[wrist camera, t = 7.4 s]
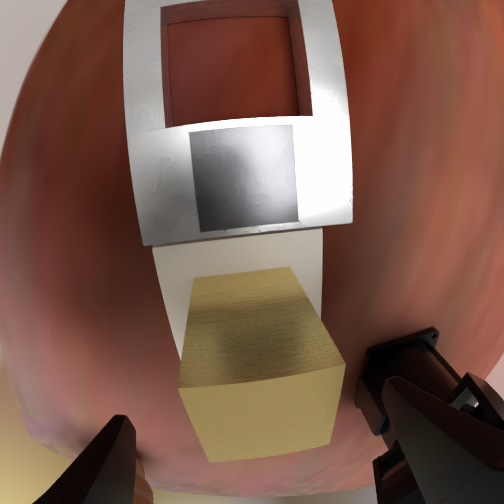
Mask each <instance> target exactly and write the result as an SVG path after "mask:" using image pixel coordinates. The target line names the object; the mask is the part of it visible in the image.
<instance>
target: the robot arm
mask: <svg viewBox="0 0 504 504" xmlns="http://www.w3.org/2000/svg"><path fill="white" fill-rule="evenodd" d="M438 336H439V331H438V330H437V329H436V328H432V329H429V330H427V331H424V332H421V333H418V334H414V335H411V336H408V337H405V338H402V339H399V340H395V341H392V342H388V343H385V344H381V345H378V346H374V347H372V348H370V349H369V350H368V351H367V353H366V357H365V362H364V366H363V371H362V375H361V376H360V379H359V383H358V388H357V392H356V396H355V399H356V400H355V406H356V408H360V409H361V411H362V413H363V415H364V417H365V419H366V421H367V423H368V425H369V427H370V429H371V431H372V433H373V434H374V435H375V436H379V435H381V436H382V438H383V440H384V442H385V444H386V446H387V448H388V451H387V452H386V453H384V454H383V455H382V456H379V457H377V458H376V459H374V460H373V461H372V463H373V470H374V478H375V485H376V493H377V502H378V504H504V401H503V399H502V398H501V397H500V395H499V394H498V393H497V392H496V391H495V390H494V389H493V388H492V387H491V386H490V385H489V384H488V383H487V382H486V381H485V380H483V379H481V378H479V377H477V376H475V375H473V374H471V373H469V372H467V373H466V374H465V375H464V376H463V378H461V377H460V376H459V375H458V374H457V373H456V372H455V370H454V369H453V368H452V367H451V366H450V365H449V364H448V363H447V361H446V360H445V359H444V358H443V357H442V356H441V355H440V354H439V353H438V352H437V351H436V349H435V345H436V342H437V339H438ZM477 401H478V403H479V404H478V406H477V407H476V408H475V407H474V405H475V404H476V403H477ZM135 476H136V430H135V428H134V426H133V424H132V423H131V421H130V420H129V418H128V417H127V416H126V415H118V414H117V415H114V416H113V417H112V418H111V420H110V421H109V422H108V423H107V424H106V425H105V426H104V428H103V429H102V430H101V431H100V432H99V433H98V434H97V435H96V437H95V438H94V439H93V440H92V441H91V442H90V443H89V444H88V446H87V447H86V448H85V449H84V450H83V451H82V452H81V454H80V455H79V456H78V457H77V458H76V459H75V460H74V461H73V463H72V464H71V465H70V466H69V467H68V468H67V469H66V470H65V472H64V473H63V474H62V475H61V477H60V478H58V479H57V480H56V482H55V483H54V484H53V485H52V486H51V487H50V488H49V489H48V490H47V491H46V492H45V493H44V494H43V495H42V496H41V497H39V498H38V499H37V500H36V501H35V502H34V503H32V504H133V499H134V487H135Z"/></svg>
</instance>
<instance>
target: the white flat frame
mask: <svg viewBox="0 0 504 504" xmlns="http://www.w3.org/2000/svg"><path fill="white" fill-rule="evenodd" d="M240 16H281V17H288V22H289V29H290V36H291V44H292V51H293V59H294V68H295V76H296V86H297V96H298V106H299V117H266V118H249V119H236V120H225V121H215V122H207V123H199V124H191V125H184V126H178V127H173V119H172V107H171V93H170V76H169V55H168V24H173V23H179V22H186V21H193V20H201V19H211V18H222V17H240ZM123 81H124V104H125V120H126V132H127V142H128V152H129V161H130V169H131V176H132V184H133V190H134V197H135V203H136V209H137V215H138V221H139V226H140V231H141V236H142V242H143V246H149V245H157V244H165V243H173V242H181V241H189V240H197V239H205V238H214V237H222V236H231V235H240V234H249V233H258V232H267V231H276V230H286V229H295V228H305V227H315V226H325V225H335V224H346V223H352V207H353V199H352V156H351V137H350V123H349V111H348V100H347V91H346V82H345V74H344V67H343V60H342V53H341V47H340V41H339V35H338V30H337V24H336V19H335V14H334V9H333V5H332V0H125V14H124V35H123Z"/></svg>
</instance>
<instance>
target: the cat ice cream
mask: <svg viewBox="0 0 504 504" xmlns="http://www.w3.org/2000/svg"><path fill="white" fill-rule="evenodd" d="M133 504H154V503H153V492H152V490H151V488H150V486H149V484H148V482H147V481H146V480H145V473H144V468H143V466H142V463H141V462H140V460H139V459H138V458H137V457H136V476H135V487H134V499H133Z"/></svg>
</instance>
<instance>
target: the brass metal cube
mask: <svg viewBox="0 0 504 504" xmlns="http://www.w3.org/2000/svg"><path fill="white" fill-rule="evenodd" d="M345 367H346V363H345V362H344V360H343V358H342V356H341V354H340V353H339V351H338V349H337V347H336V345H335V344H334V342H333V340H332V338H331V337H330V335H329V333H328V331H327V330H326V328H325V326H324V324H323V323H322V321H321V319H320V317H319V316H318V314H317V312H316V310H315V309H314V307H313V305H312V304H311V302H310V300H309V298H308V297H307V295H306V293H305V291H304V290H303V288H302V286H301V285H300V283H299V281H298V280H297V278H296V276H295V274H294V273H293V271H292V269H291V268H290V267H282V268H274V269H266V270H258V271H250V272H242V273H233V274H225V275H216V276H208V277H199V278H194V281H193V286H192V292H191V298H190V304H189V310H188V316H187V323H186V329H185V336H184V343H183V350H182V357H181V364H180V372H179V380H178V391H179V394H180V396H181V399H182V401H183V404H184V406H185V409H186V411H187V413H188V416H189V418H190V421H191V423H192V425H193V427H194V430H195V432H196V434H197V436H198V439H199V441H200V443H201V445H202V447H203V449H204V451H205V454H206V456H207V458H208V460H209V462H222V461H235V460H245V459H254V458H262V457H269V456H275V455H281V454H287V453H292V452H297V451H302V450H307V449H311V448H316V447H320V446H324V445H328V444H329V443H330V439H331V435H332V431H333V427H334V423H335V418H336V414H337V409H338V404H339V399H340V394H341V389H342V384H343V378H344V373H345Z"/></svg>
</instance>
